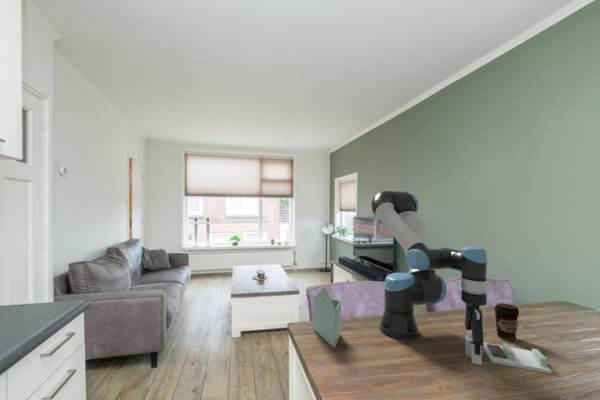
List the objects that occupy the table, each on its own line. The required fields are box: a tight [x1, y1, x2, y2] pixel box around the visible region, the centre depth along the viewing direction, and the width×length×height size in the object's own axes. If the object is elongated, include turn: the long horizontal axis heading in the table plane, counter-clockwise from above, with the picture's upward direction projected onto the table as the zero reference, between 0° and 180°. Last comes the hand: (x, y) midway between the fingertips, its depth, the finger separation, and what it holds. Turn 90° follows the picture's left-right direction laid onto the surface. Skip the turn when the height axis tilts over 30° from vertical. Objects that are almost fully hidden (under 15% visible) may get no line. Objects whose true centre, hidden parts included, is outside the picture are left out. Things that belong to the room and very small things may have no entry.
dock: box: [482, 341, 552, 375], centre depth 95 cm, size 16×13×4 cm
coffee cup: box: [493, 302, 520, 342], centre depth 111 cm, size 9×8×13 cm
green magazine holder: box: [313, 286, 342, 349], centre depth 108 cm, size 16×8×20 cm, turn 24°
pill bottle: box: [464, 330, 473, 360], centre depth 96 cm, size 5×5×8 cm
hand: (473, 356), depth 95 cm, fingers open, 9 cm apart
